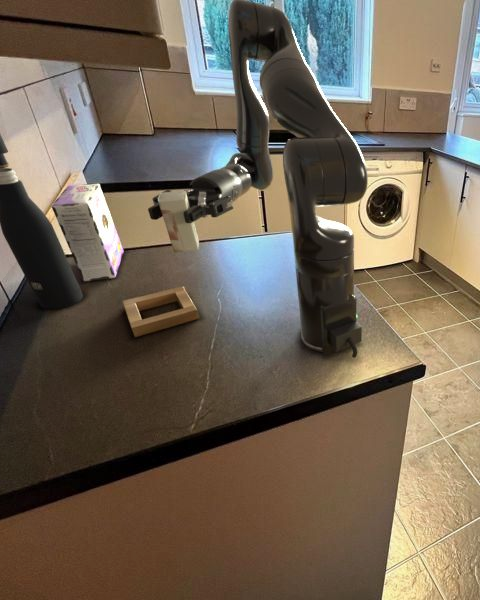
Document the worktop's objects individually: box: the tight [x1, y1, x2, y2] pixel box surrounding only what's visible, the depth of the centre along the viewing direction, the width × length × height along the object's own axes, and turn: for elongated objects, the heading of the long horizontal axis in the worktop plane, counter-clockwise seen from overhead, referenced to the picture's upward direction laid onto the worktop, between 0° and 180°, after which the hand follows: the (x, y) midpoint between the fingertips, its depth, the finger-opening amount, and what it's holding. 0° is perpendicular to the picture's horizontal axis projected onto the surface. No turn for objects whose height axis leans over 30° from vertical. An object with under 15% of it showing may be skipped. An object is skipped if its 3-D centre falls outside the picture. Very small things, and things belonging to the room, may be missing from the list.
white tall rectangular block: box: [158, 190, 200, 253], centre depth 70 cm, size 5×4×10 cm
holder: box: [122, 285, 200, 338], centre depth 70 cm, size 10×10×2 cm
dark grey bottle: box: [0, 133, 84, 310], centre depth 64 cm, size 6×6×30 cm
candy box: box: [50, 183, 125, 282], centre depth 80 cm, size 14×6×16 cm, turn 25°
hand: (169, 216), depth 67 cm, fingers closed on white tall rectangular block, 6 cm apart
